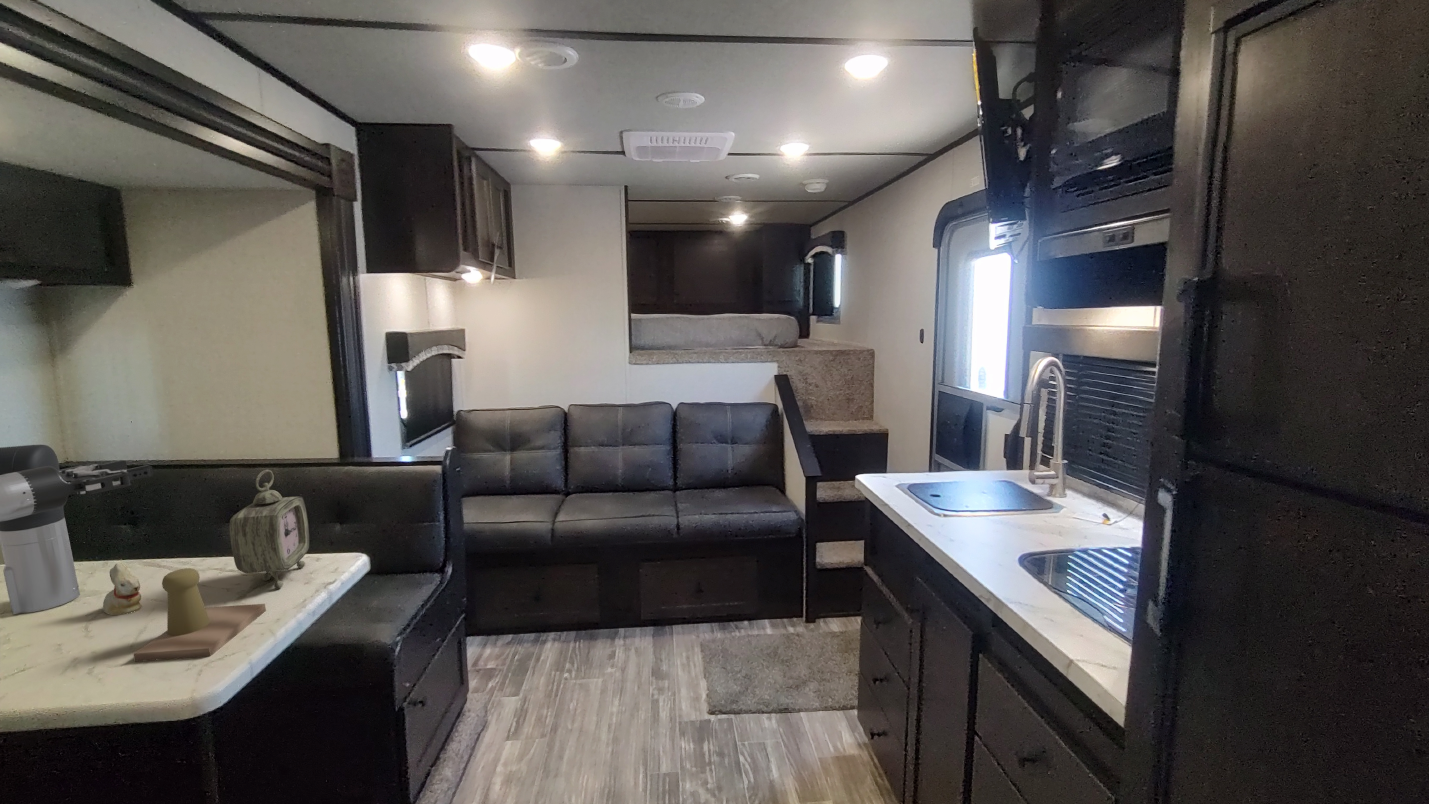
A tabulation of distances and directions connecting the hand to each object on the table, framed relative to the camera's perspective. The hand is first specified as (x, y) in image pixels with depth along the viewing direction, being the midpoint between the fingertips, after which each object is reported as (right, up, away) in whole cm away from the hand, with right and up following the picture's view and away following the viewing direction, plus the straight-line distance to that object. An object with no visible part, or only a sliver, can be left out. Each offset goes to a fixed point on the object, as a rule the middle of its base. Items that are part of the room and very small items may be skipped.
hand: (138, 467), depth 117 cm
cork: (+12, -29, -3) cm, 32 cm away
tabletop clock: (+12, -27, +20) cm, 36 cm away
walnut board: (+15, -31, -3) cm, 34 cm away
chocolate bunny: (-10, -30, +7) cm, 32 cm away
